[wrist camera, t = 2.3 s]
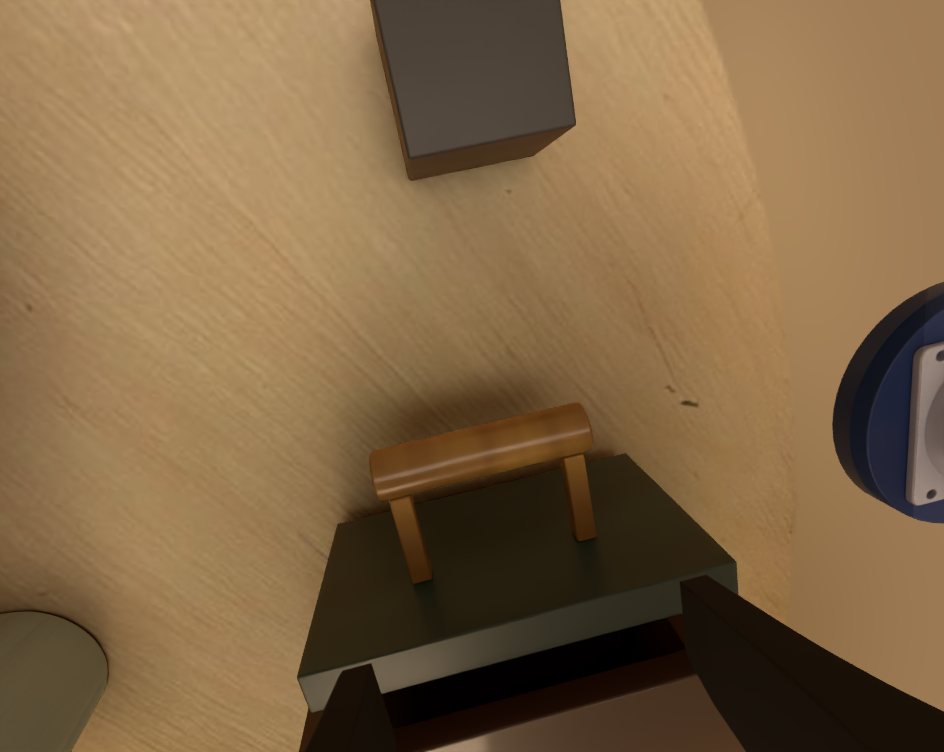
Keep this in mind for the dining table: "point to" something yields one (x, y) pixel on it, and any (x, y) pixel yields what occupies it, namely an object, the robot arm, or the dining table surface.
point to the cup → (46, 682)
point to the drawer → (504, 571)
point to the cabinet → (583, 717)
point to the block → (474, 80)
